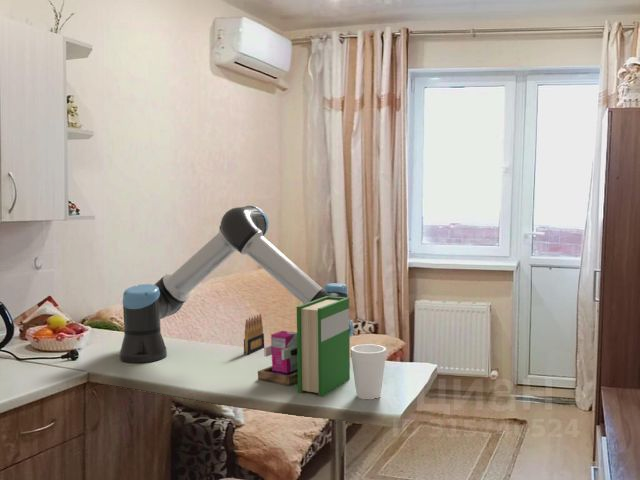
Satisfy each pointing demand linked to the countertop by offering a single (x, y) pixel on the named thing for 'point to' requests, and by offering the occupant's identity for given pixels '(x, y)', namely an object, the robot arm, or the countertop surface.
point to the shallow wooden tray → (277, 377)
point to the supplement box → (278, 344)
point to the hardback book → (323, 344)
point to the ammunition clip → (253, 335)
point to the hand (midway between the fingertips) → (273, 353)
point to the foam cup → (368, 369)
